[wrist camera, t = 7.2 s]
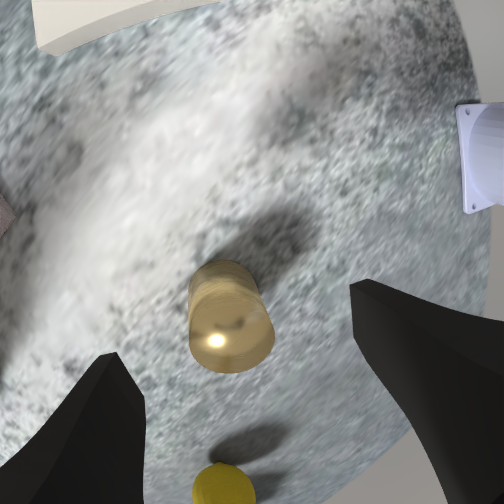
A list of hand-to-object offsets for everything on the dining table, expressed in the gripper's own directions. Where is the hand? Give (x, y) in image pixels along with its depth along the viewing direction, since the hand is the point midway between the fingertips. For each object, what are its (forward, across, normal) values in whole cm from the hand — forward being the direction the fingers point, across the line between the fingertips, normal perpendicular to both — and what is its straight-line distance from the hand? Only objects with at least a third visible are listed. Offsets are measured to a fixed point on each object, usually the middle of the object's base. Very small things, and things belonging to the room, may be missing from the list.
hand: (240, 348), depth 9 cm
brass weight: (+10, 0, +3) cm, 10 cm away
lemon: (+10, +6, +21) cm, 24 cm away
